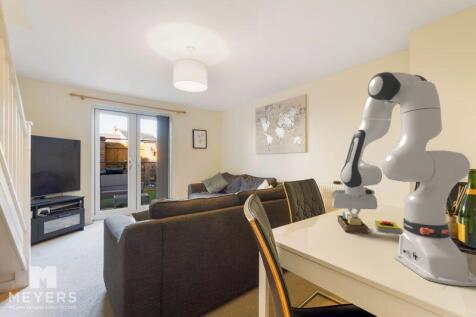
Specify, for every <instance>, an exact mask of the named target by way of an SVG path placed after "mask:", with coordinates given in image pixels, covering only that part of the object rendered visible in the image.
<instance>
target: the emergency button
mask: <svg viewBox="0 0 476 317" xmlns="http://www.w3.org/2000/svg"><path fill="white" fill-rule="evenodd" d="M374 228H375V230H376V233H379V234H389V235H396V236H397V235H398V236H400V235H401V233H400V227H399V226H398V224H396V222H394V221H387V220H385V221H384V220H375V221H374Z"/></svg>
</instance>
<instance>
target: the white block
mask: <svg viewBox="0 0 476 317" xmlns="http://www.w3.org/2000/svg"><path fill="white" fill-rule="evenodd" d="M344 212H345V218H346V219H347V220H348V216H350V217H351V213H350V212H349V211H344ZM351 212H352V213H354V214H356V212H355V211H351Z"/></svg>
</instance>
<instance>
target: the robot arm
mask: <svg viewBox="0 0 476 317" xmlns="http://www.w3.org/2000/svg"><path fill="white" fill-rule="evenodd" d="M367 85H368V86H367V93H368V98H367V99H366V101H365V105H364V107H363V108H364V109H363V112H362V116H361V117H362V118H361V122H360V125H359V128H358V130H356V131H355V132H354V134H353V136H352V139H351V141H350V145H349V148H348V151H347V156H346V159H345V161H344V164H343V167H342V169H341V172H340V180H341V181H342V183H343V189H335V190H333V191H332V192H331V197H332V203H331V204H332V207H333V208H334V209H346V210H348V212H350V213H351V218H358V217H359V214H360V212H361V210H377V209H378V199H377V197H376V195H375V190H373V189H371V188H368V186H375V185H378V184H380V183H381V181H382V179H383V175H384V176H385V177H386V178H387V179H388V180H390V181H391V180H392V181H396V182H402V183H419V185H418V187H417V188H416V190H414V191H412V192H410V193H408V194H407V195H406V196H405V198H404V218H403V221H402V226H403V232H402V233H400V235H399V239H398V253H396V254H395V255H394V259H395V260H397V261H398V262H399V263H401V264H402V265H404V266H405V267H406V268H408V269H409V270H411V271H413V272H414V273H416V274H417V275H419V276H420V277H422V278H423V279H425V280H428V281H431V282H435V283H439V284H446V285H452V286H462V287H476V276H475V274H473V273H472V272H471V271H470V270H469V263H468V255H467V253H465V252H461V250H460V248H458V245H456V244H455V242H454V241H453V239H452V238H451V236H452V235H451V234H452V233H451V232H452V230H450V227H449V224H448V223H447V202H448V197H449V195H450V193H451V191H452V190H453V189H454V187H455V186H456V184H458V183H459V182H460V181H462V180H463V179H465V178H467V176H468V174H469V173H470V170H471V163H470V160H469V158H468V157H467V156H466V155H465V154H463V153H462V152H457V151H451V150H443V149H442V150H440V149H439V150H426V149H427V148H426V147H427V144H428V143H429V141H430V140H433V139H435V138H436V137H438V136H439V135H440V134H441V132H442V130H443V125H442V111H441V110H442V109H441V101H440V96H439V93H438V90H437V87H436V84H435V83H433V82H432V81H429V80H428V79H426V78H425V77H423V76H421V75H418V74H411V73H405V72H398V71H397V72H395V71H394V72H389V71H383V72H380V73H377V74H375V75H373V76H372V78H371V79H370V80H369V82H368V84H367ZM396 105H399V106H400V108H399V109H400V137H399V139H398V141H397V142H398V143H397V144H396V146H395V147H394V149H393V150H392V151H390V152H389V153H388V154H387V155H386V156H384V158H383V159H382V161H381V169H380V167H379V166H377V165H375V164H370V163H367V162H366V161H364V160H363V159H362V158H363V155H364V151H365V149H366V147H367V146H369V145H370V144H371V143H373V142H375V141H377V140H379V139H381V138H383V137H385V135H387V134H388V133H389V130H390V127H391V120H392V115H393V109H394V108H395V106H396ZM353 210H356V212H355V213H356V214H354V213H352V212H353Z"/></svg>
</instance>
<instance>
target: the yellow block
mask: <svg viewBox="0 0 476 317" xmlns="http://www.w3.org/2000/svg"><path fill="white" fill-rule="evenodd" d="M361 221H362V219H361V218H360V217H359V216H358V218H351V217H350V216H348V223H349V224H350V225H353V226H356V225H361Z"/></svg>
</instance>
